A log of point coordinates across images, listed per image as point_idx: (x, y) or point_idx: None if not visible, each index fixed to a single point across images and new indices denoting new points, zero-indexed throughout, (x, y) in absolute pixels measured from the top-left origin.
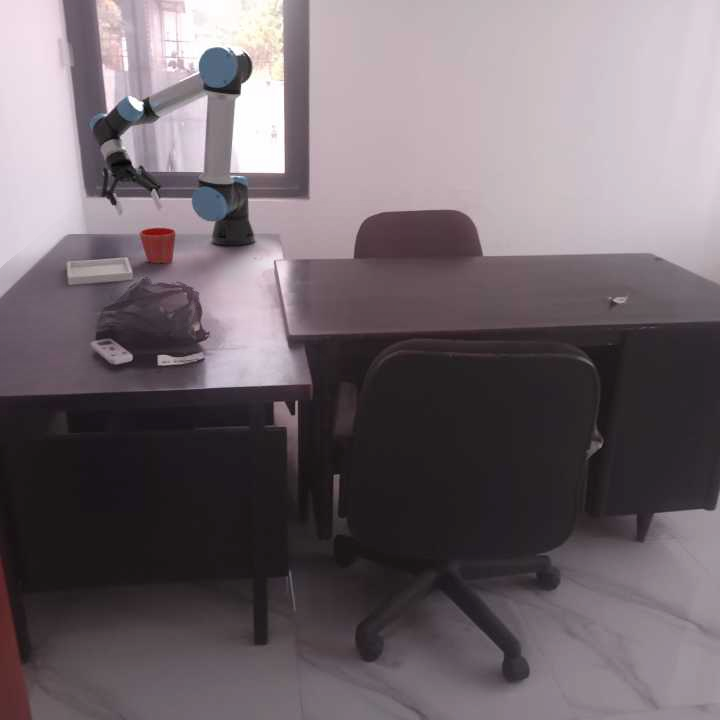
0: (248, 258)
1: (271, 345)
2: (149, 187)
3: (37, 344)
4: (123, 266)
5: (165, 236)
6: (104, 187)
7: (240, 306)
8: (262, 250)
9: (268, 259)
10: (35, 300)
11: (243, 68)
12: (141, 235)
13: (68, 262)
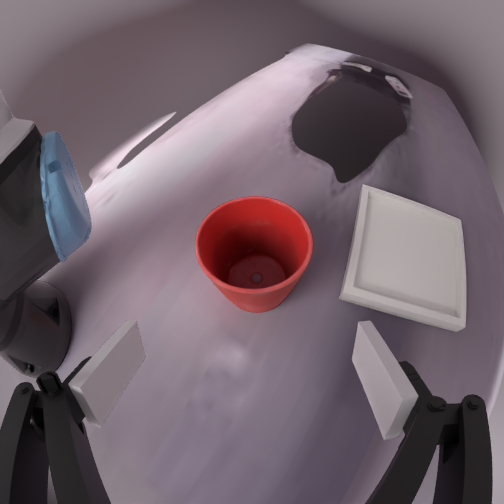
0: (114, 204)
1: (297, 56)
2: (77, 428)
3: (447, 115)
4: (361, 263)
5: (254, 198)
6: (479, 428)
7: (274, 85)
8: None
9: (103, 186)
10: (478, 195)
11: None
12: (312, 241)
13: (463, 319)
